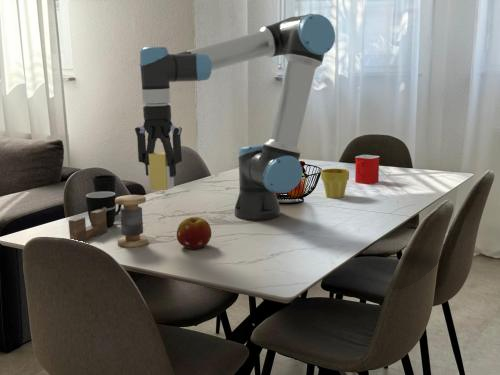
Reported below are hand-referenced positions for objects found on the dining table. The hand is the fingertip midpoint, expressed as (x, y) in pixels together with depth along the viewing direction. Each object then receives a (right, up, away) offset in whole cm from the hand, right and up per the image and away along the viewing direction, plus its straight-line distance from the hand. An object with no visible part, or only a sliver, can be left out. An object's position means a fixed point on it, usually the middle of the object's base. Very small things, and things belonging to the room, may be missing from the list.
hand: (161, 187), depth 171 cm
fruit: (+10, -17, -4) cm, 20 cm away
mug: (-20, -12, +20) cm, 31 cm away
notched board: (-22, -15, +6) cm, 27 cm away
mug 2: (+72, +2, +79) cm, 107 cm away
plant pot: (+57, -4, +55) cm, 79 cm away
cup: (-25, -8, +38) cm, 46 cm away
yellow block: (0, 0, 0) cm, 0 cm away
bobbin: (-8, -16, 0) cm, 18 cm away
